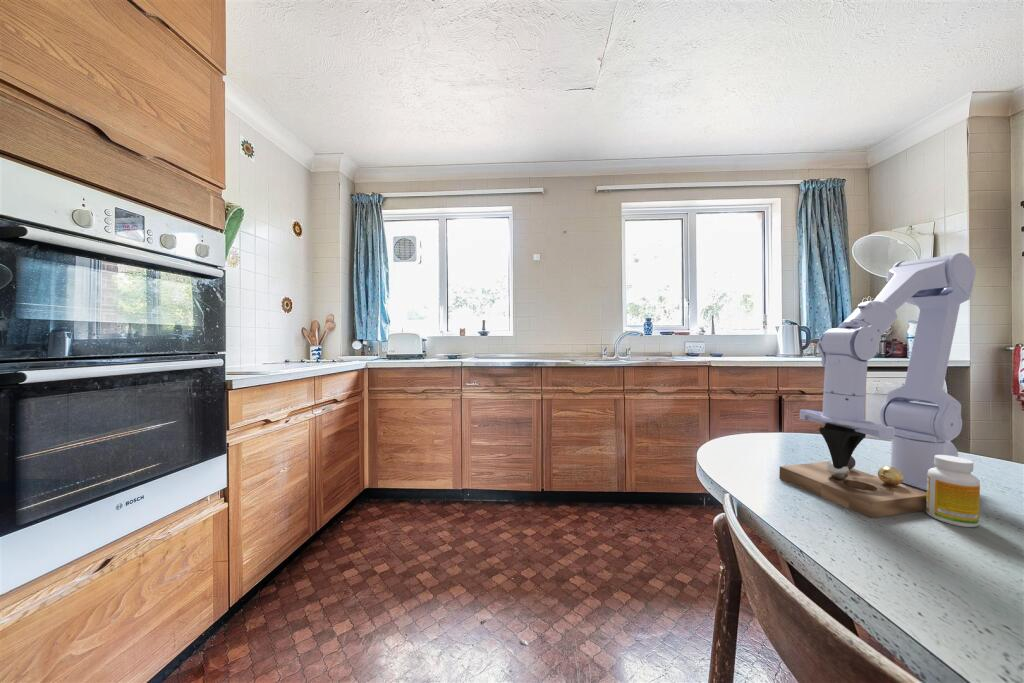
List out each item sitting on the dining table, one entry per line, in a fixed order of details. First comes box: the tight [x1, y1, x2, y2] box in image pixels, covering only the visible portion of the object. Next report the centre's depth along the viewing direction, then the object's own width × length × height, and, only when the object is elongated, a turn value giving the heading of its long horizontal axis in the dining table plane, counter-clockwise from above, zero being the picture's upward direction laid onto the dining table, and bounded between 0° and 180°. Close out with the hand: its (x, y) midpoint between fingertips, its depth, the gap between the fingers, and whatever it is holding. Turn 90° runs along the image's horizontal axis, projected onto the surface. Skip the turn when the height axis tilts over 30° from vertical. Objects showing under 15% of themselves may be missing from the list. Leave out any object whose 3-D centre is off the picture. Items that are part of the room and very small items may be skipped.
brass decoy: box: [877, 465, 903, 486], centre depth 66 cm, size 3×3×3 cm
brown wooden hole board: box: [778, 460, 927, 519], centre depth 68 cm, size 13×16×2 cm
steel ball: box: [826, 461, 849, 479], centre depth 69 cm, size 3×3×3 cm
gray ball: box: [847, 455, 856, 469], centre depth 73 cm, size 3×3×3 cm
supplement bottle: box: [925, 455, 981, 528], centre depth 59 cm, size 5×5×10 cm
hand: (839, 467), depth 68 cm, fingers closed, pressing on steel ball
